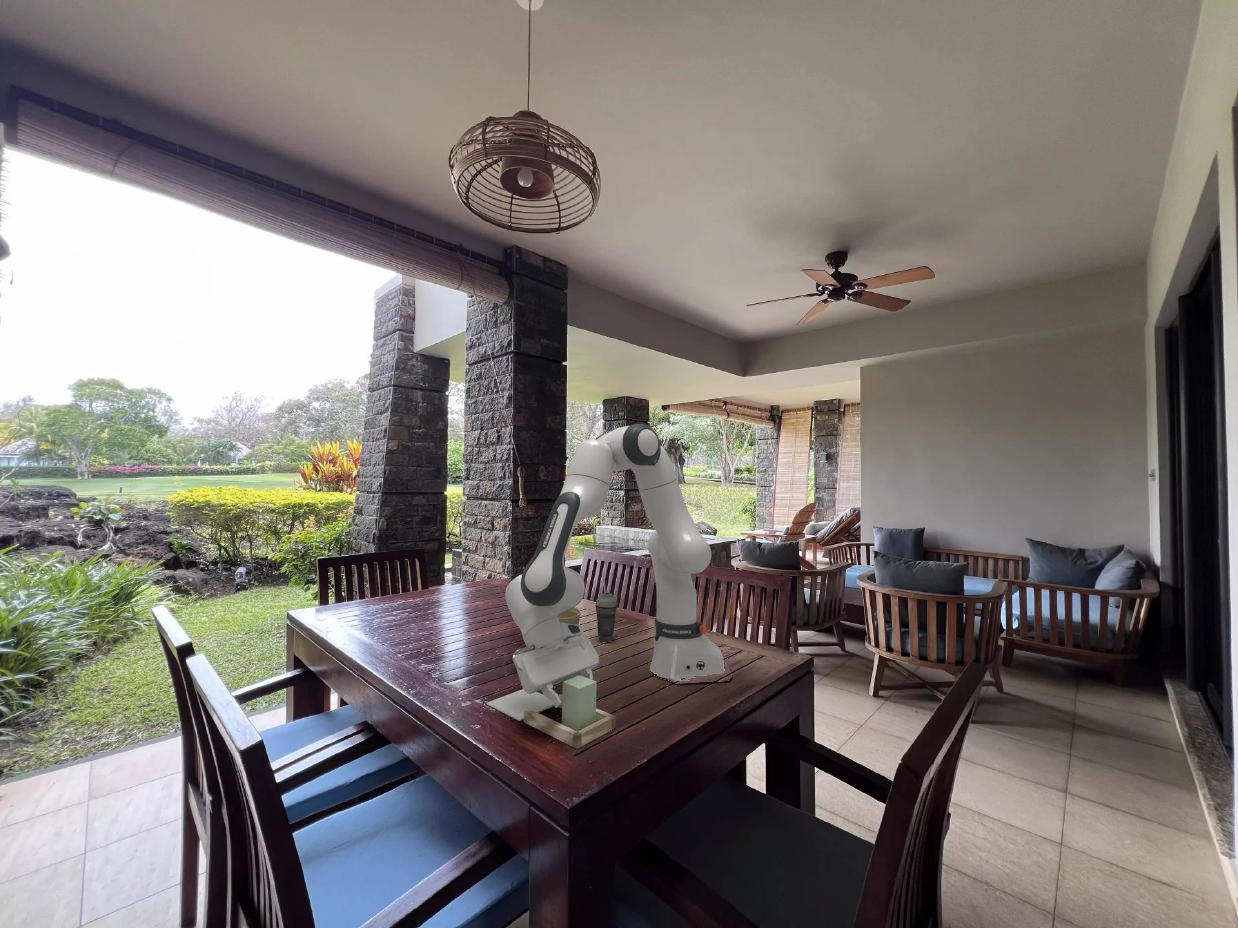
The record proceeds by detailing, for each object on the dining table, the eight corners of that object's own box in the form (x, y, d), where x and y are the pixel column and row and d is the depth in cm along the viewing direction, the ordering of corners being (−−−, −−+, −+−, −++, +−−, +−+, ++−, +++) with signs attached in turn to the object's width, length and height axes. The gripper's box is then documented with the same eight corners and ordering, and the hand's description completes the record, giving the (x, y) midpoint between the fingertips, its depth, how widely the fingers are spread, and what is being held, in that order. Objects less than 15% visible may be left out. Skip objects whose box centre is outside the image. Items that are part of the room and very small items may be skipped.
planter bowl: (518, 644, 161) (519, 609, 161) (560, 635, 172) (560, 602, 172) (547, 658, 149) (548, 621, 149) (590, 647, 160) (591, 612, 160)
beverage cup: (608, 646, 161) (610, 582, 162) (589, 641, 165) (591, 579, 166) (620, 640, 167) (622, 579, 168) (602, 636, 171) (603, 576, 172)
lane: (523, 721, 110) (524, 710, 110) (562, 704, 119) (562, 694, 119) (577, 748, 100) (577, 735, 100) (615, 727, 108) (615, 716, 108)
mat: (486, 704, 118) (486, 702, 118) (526, 688, 127) (526, 687, 127) (519, 720, 110) (519, 719, 110) (560, 703, 120) (560, 701, 120)
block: (561, 729, 107) (562, 681, 107) (578, 721, 111) (579, 675, 111) (578, 738, 104) (579, 688, 104) (595, 729, 108) (596, 681, 108)
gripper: (516, 643, 105) (547, 706, 98) (585, 623, 121) (616, 676, 114) (502, 660, 108) (531, 722, 101) (571, 638, 123) (600, 691, 117)
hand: (576, 697), depth 108 cm, fingers open, 8 cm apart
